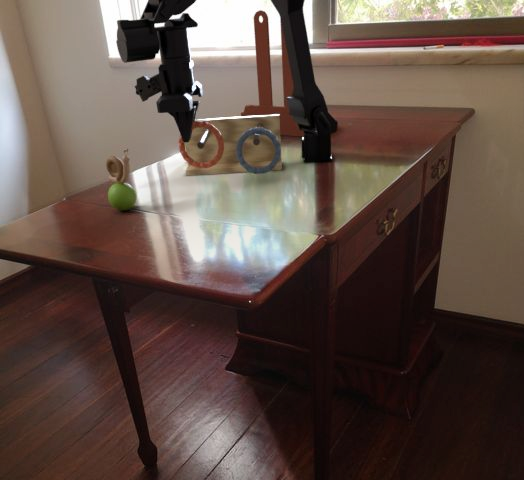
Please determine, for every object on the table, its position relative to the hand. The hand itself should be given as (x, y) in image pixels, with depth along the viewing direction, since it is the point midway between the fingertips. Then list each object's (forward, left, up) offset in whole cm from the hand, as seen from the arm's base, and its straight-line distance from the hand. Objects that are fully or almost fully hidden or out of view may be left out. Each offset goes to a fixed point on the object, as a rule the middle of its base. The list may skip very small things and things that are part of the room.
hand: (187, 141), depth 115 cm
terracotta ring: (-3, 0, -1) cm, 3 cm away
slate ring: (-15, -2, -3) cm, 15 cm away
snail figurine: (+11, +13, -10) cm, 20 cm away
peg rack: (-8, -7, -10) cm, 14 cm away
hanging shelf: (-21, -51, -10) cm, 55 cm away
